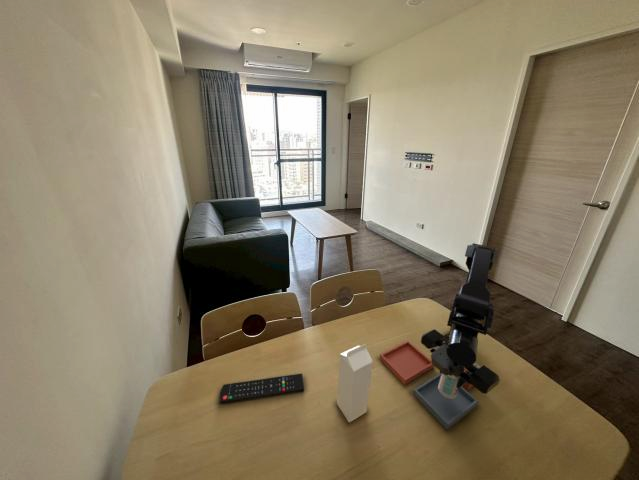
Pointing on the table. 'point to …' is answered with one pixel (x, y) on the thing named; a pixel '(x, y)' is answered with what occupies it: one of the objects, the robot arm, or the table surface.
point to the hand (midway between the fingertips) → (449, 380)
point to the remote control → (261, 388)
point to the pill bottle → (449, 385)
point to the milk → (354, 382)
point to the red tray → (406, 362)
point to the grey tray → (444, 402)
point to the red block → (467, 385)
